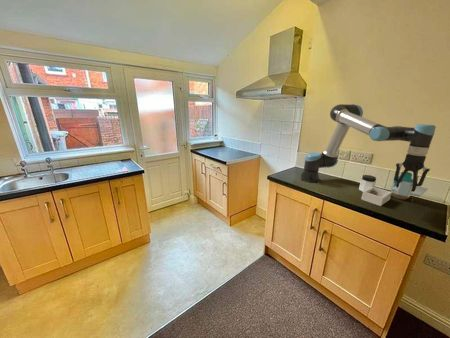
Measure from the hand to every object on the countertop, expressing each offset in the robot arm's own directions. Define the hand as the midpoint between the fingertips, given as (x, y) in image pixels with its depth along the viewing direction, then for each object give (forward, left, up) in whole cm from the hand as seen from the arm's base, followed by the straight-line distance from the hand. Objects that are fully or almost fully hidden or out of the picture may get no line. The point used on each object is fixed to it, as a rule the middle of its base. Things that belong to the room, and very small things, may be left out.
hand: (403, 194), depth 107 cm
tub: (-15, +12, -13) cm, 23 cm away
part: (-17, +16, -13) cm, 27 cm away
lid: (0, +9, -1) cm, 9 cm away
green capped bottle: (-7, +30, -14) cm, 34 cm away
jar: (-25, +23, -14) cm, 37 cm away
